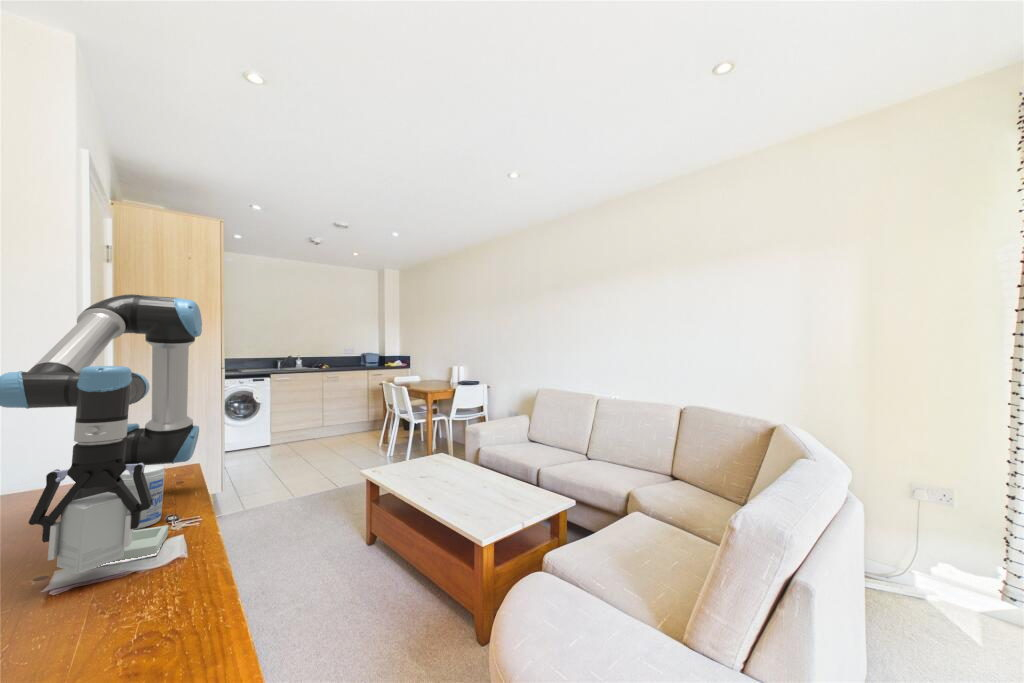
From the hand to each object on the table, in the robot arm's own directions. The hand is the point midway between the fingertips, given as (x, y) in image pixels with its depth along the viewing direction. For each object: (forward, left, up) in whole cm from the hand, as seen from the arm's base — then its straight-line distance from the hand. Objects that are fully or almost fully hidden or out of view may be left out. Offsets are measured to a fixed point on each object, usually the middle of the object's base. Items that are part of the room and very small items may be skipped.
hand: (92, 550), depth 79 cm
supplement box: (0, 0, -2) cm, 2 cm away
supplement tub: (-30, +1, -6) cm, 30 cm away
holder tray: (-12, +3, -6) cm, 13 cm away
